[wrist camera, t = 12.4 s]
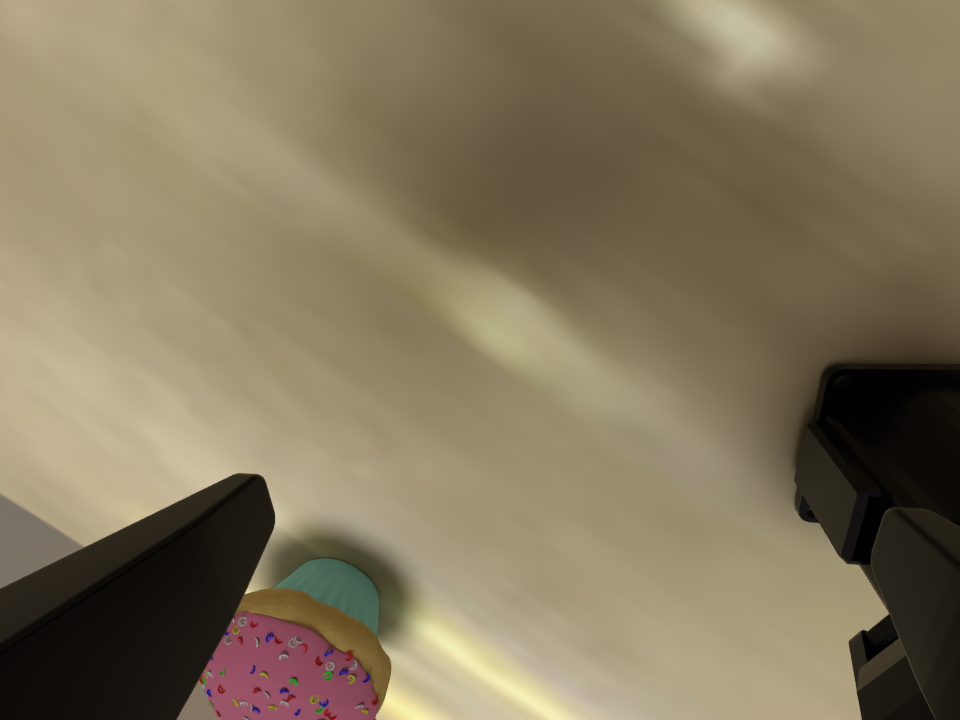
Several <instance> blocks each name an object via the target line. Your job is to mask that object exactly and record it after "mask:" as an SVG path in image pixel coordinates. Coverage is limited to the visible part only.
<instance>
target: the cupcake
mask: <svg viewBox="0 0 960 720" xmlns="http://www.w3.org/2000/svg"><path fill="white" fill-rule="evenodd" d="M379 608H380V599H379V594H378V592H377V589H376V587H375V586H374V584H373V583H372V581H371V580H370V579H369V578H368V577H367V576H366V575H365V574H364V573H363V572H361V571H360V570H359V569H357V568H356V567H354V566H352V565H350V564H348V563H345V562H343V561H339V560H335V559H328V558H321V559H314V560H310V561H308V562H306V563H304V564H302V565H301V566H300V567H299V568H298V569H297V570H295V571H294V572H293V573H292V574H291V575H289V576H288V577H287V578H286V579H284V580H283V581H282V582H281V583H279V584H278V585H276V586H275V587H274V588H272V589H263V590H259V591H255V592H252V593H248V594H245V595H244V596H243V599H242V601H241V603H240V605H239V607H238V609H237V611H236V613H235V616H234V618H233V620H232V621H231V623H230V625H229V627H228V629H227V631H226V633H225V634H224V636H223V638H222V640H221V642H220V643H219V645H218V647H217V649H216V650H215V652H214V654H213V656H212V658H211V659H210V661H209V663H208V665H207V666H206V668H205V670H204V672H203V674H202V676H201V677H200V679H199V680H200V682H201V683H202V684H204V686H203V687H202V692H203V694H205V696H207V697H208V700H209V705H210V706H211V708H212V709H213V711H214V712H215V713H216V714H217V716H218V717H219V718H221V719H222V720H376V719H375V717H376V714H377V713H378V711H379V710H380V708H381V706H382V704H383V702H384V699H385V696H386V692H387V688H388V684H389V680H390V675H391V661H390V658H389V657H388V655H387V654H386V653H385V652H384V650H383V649H382V647H381V645H380V643H379V640H378V617H379Z"/></svg>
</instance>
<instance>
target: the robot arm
mask: <svg viewBox="0 0 960 720" xmlns="http://www.w3.org/2000/svg"><path fill="white" fill-rule="evenodd" d="M844 375H846V379H845V381H843V382H842V383H838V384H835V381H836V379H837V378H838V377H840V376H844ZM794 480H795V483H796V485H797V486H798V492H797V497H796V502H795V509H796V511H797V512H798V514H799V516H800V517H801V519H803V520H804V521H807V522H815V523H820V525H821V527H822V528H823V530H824V532H825V533H826V535H827V537H828V538H829V540H830V542H831V544H832V545H833V547H834V549H835V550H836V552H837V554H838V555H839V557H841V558H842V559H843V560H844V561H845V562H846V563H847V564H856V565H859V566H860V567H861V569H862V570H863V572H864V574H865V575H866V577H867V578H868V580H869V582H870V583H871V585H872V586H873V588H874V590H875V591H876V593H877V594H878V596H879V598H880V599H881V601H882V602H883V604H884V605H885V607H886V609H887V610H888V612H889V614H888V615H887V616H886V617H885V618H883V619H882V620H881V621H880V622H878V623H877V624H876V625H875V626H873V627H872V628H871V629H870V630H869V631H865V630H862V631H860V632H859V633H858V634H857V635H855V636H854V637H853V638H852V639H851V640H849V648H850V653H851V659H852V665H853V671H854V677H855V682H856V688H857V696H858V700H859V706H860V712H861V717H862V720H960V365H949V364H837V365H833V366H831V367H829V368H828V369H827V370H826V371H825V372H824V374H823V376H822V379H821V384H820V389H819V393H818V398H817V403H816V408H815V412H814V417H813V420H811V421H810V422H809V423H808V424H807V425H806V426H805V430H804V435H803V440H802V444H801V449H800V454H799V459H798V464H797V469H796V474H795V479H794ZM808 508H811V510H807V509H808ZM274 525H275V512H274V508H273V505H272V501H271V498H270V495H269V491H268V488H267V484H266V481H265V479H264V478H263V477H262V476H261V475H258V474H246V473H238V474H234V475H232V476H230V477H228V478H225V479H223V480H221V481H219V482H217V483H215V484H213V485H211V486H209V487H207V488H205V489H203V490H201V491H199V492H197V493H195V494H193V495H191V496H189V497H187V498H185V499H183V500H180V501H178V502H176V503H174V504H172V505H170V506H168V507H166V508H164V509H162V510H160V511H158V512H156V513H154V514H152V515H150V516H148V517H146V518H144V519H142V520H140V521H138V522H135V523H133V524H131V525H129V526H127V527H125V528H123V529H121V530H119V531H117V532H115V533H113V534H111V535H109V536H107V537H105V538H103V539H101V540H99V541H97V542H95V543H93V544H90V545H88V546H86V547H84V548H82V549H80V550H78V551H76V552H74V553H72V554H70V555H68V556H66V557H64V558H62V559H60V560H58V561H56V562H54V563H52V564H50V565H48V566H46V567H43V568H41V569H39V570H37V571H35V572H33V573H31V574H29V575H27V576H25V577H23V578H21V579H19V580H17V581H15V582H13V583H11V584H9V585H7V586H5V587H3V588H0V720H177V718H178V716H179V714H180V712H181V711H182V709H183V707H184V705H185V704H186V702H187V700H188V698H189V697H190V695H191V693H192V691H193V689H194V688H195V686H196V684H197V682H198V681H199V679H200V677H201V675H202V674H203V672H204V670H205V668H206V666H207V665H208V663H209V661H210V659H211V658H212V656H213V654H214V652H215V650H216V649H217V647H218V645H219V643H220V642H221V640H222V638H223V636H224V634H225V633H226V631H227V629H228V627H229V625H230V623H231V621H232V620H233V618H234V616H235V613H236V611H237V609H238V607H239V605H240V603H241V601H242V599H243V596H244V594H245V592H246V590H247V588H248V585H249V583H250V581H251V579H252V576H253V574H254V572H255V570H256V567H257V565H258V563H259V561H260V558H261V556H262V554H263V552H264V549H265V547H266V545H267V543H268V541H269V538H270V536H271V534H272V532H273V529H274Z"/></svg>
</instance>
